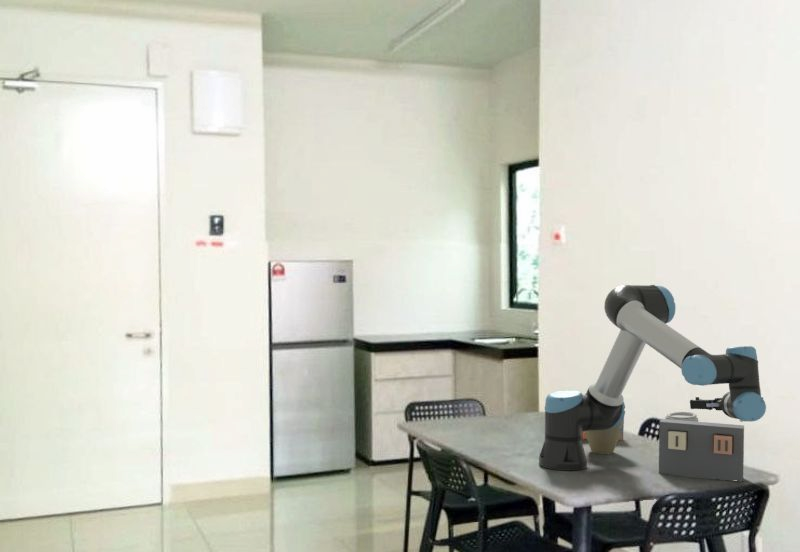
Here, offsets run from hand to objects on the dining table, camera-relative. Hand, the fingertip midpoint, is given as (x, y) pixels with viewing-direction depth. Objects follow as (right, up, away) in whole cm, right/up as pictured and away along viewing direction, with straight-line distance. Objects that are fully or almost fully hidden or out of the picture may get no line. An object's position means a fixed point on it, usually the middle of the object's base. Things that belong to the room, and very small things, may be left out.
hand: (720, 402), depth 246 cm
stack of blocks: (-23, -24, +64) cm, 72 cm away
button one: (-11, -15, +5) cm, 19 cm away
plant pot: (-26, -24, +40) cm, 53 cm away
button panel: (-3, -24, +7) cm, 25 cm away
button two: (+1, -15, 0) cm, 15 cm away
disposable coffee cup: (-1, -24, +32) cm, 40 cm away
